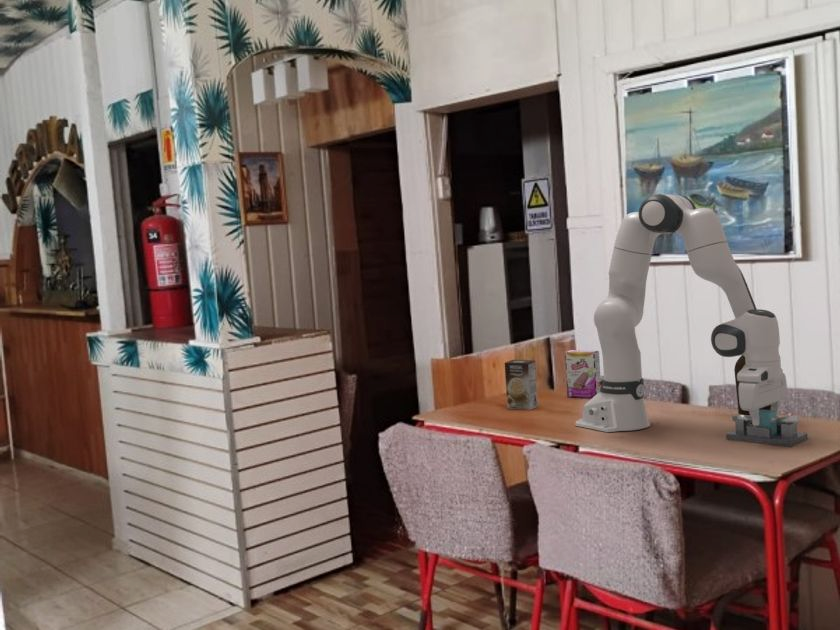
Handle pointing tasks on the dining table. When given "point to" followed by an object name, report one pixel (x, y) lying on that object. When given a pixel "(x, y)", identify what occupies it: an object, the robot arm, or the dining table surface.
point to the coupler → (768, 420)
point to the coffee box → (521, 384)
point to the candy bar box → (582, 373)
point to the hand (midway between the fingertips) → (765, 421)
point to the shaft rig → (767, 431)
